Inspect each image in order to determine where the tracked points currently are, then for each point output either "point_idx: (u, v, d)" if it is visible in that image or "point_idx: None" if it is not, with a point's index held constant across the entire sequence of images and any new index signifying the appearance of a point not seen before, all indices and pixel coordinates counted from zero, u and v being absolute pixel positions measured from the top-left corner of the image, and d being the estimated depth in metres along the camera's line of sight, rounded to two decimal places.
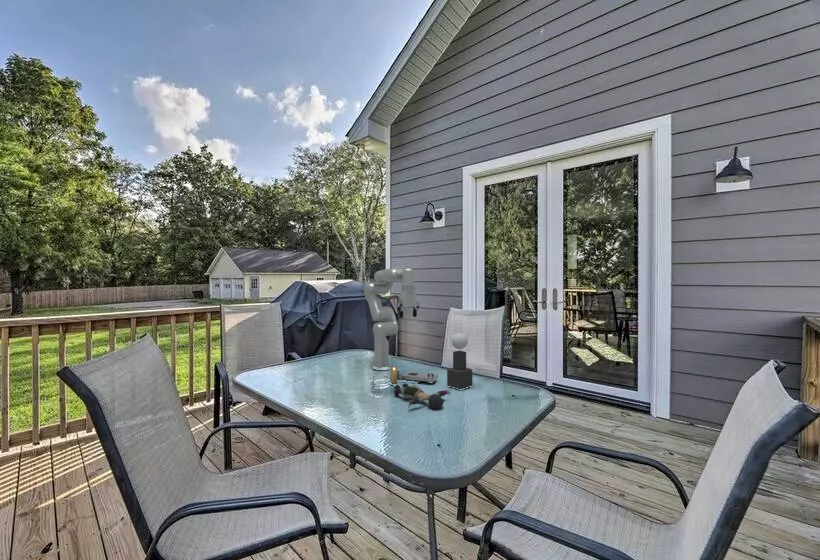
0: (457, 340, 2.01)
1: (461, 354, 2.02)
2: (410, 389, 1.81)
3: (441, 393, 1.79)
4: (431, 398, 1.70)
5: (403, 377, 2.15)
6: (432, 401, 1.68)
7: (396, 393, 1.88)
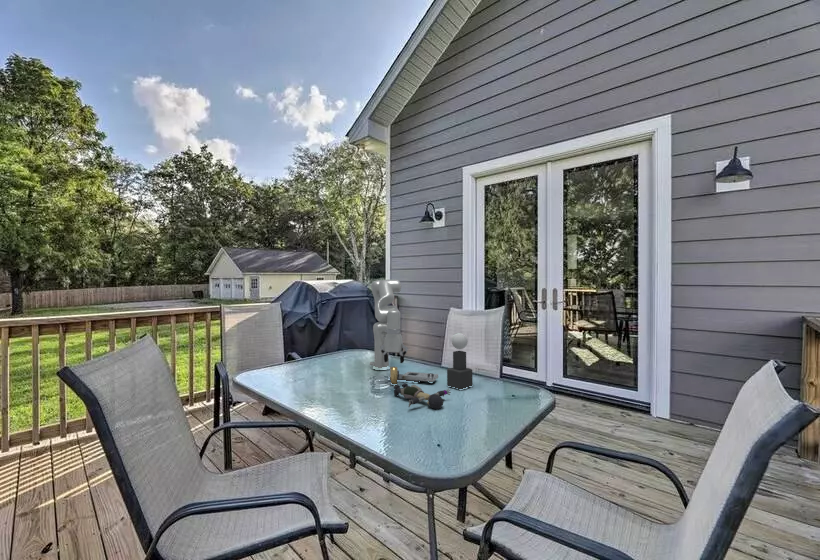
0: (457, 340, 2.01)
1: (461, 354, 2.02)
2: (410, 389, 1.81)
3: (441, 393, 1.79)
4: (431, 398, 1.70)
5: (403, 377, 2.15)
6: (432, 401, 1.69)
7: (396, 393, 1.88)
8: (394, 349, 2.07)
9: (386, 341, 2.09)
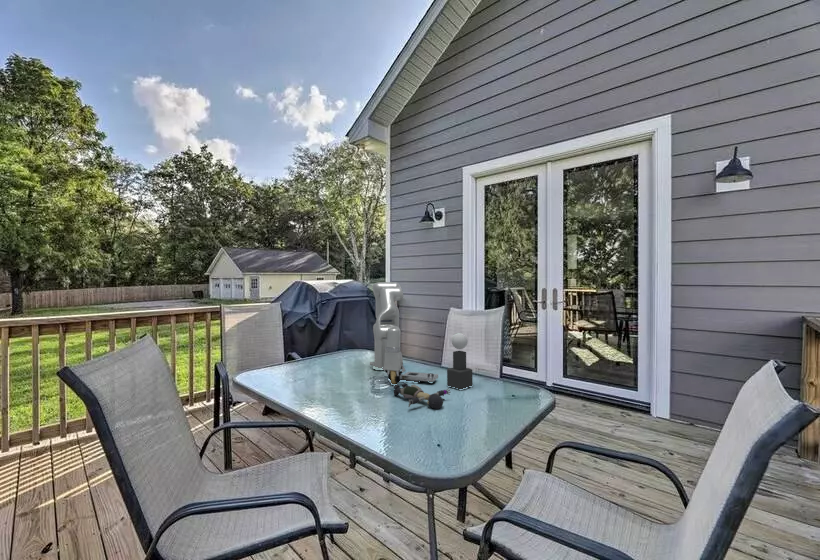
0: (457, 340, 2.01)
1: (461, 354, 2.02)
2: (410, 388, 1.81)
3: (441, 393, 1.80)
4: (431, 398, 1.70)
5: (403, 377, 2.15)
6: (432, 401, 1.69)
7: (396, 393, 1.88)
8: (394, 367, 2.07)
9: (386, 359, 2.09)
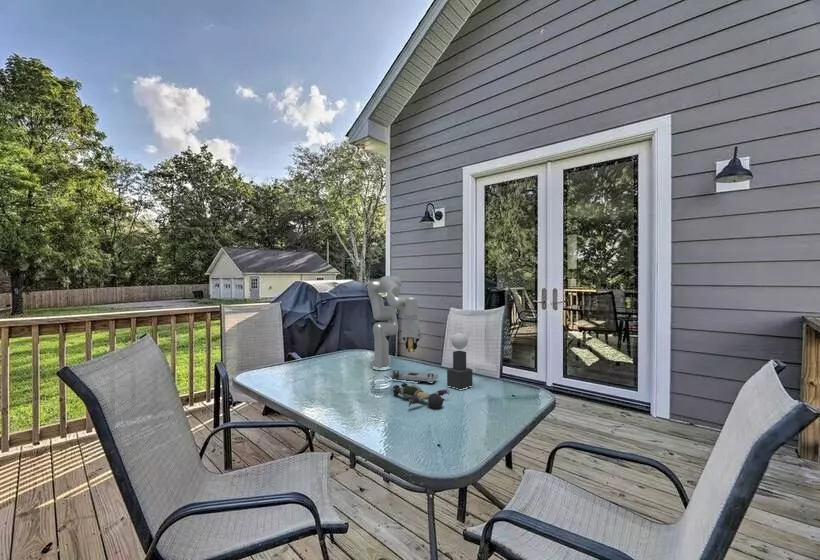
0: (457, 340, 2.01)
1: (461, 354, 2.02)
2: (410, 388, 1.81)
3: (440, 392, 1.80)
4: (431, 397, 1.70)
5: (403, 377, 2.15)
6: (432, 400, 1.69)
7: (395, 393, 1.89)
8: (411, 334, 2.15)
9: (404, 327, 2.17)
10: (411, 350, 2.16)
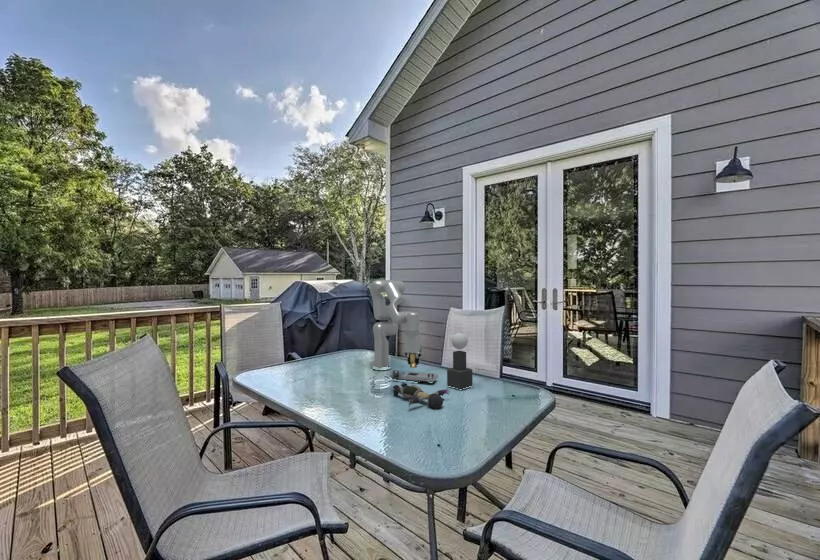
0: (457, 340, 2.01)
1: (461, 354, 2.02)
2: (410, 388, 1.82)
3: (440, 392, 1.80)
4: (431, 397, 1.71)
5: (403, 377, 2.15)
6: (432, 400, 1.69)
7: (395, 393, 1.89)
8: (414, 350, 2.15)
9: (406, 342, 2.17)
10: (413, 365, 2.16)
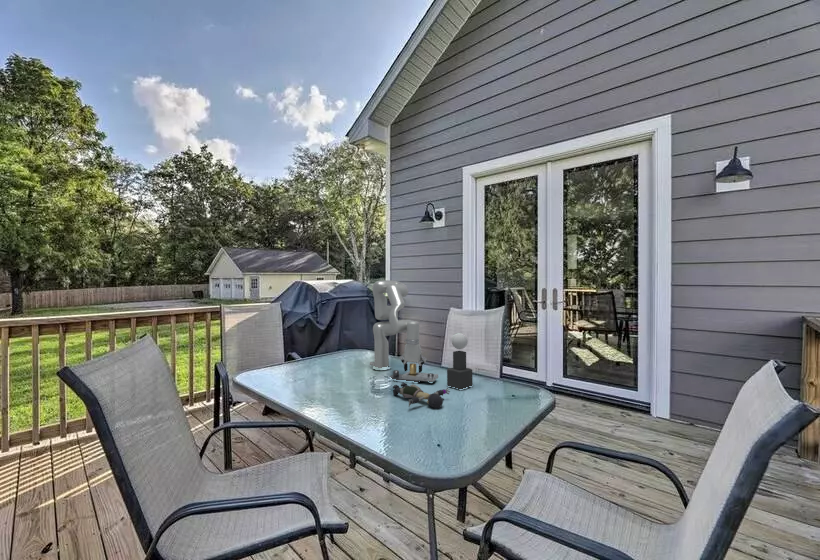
0: (457, 340, 2.01)
1: (461, 354, 2.02)
2: (409, 388, 1.82)
3: (440, 392, 1.80)
4: (431, 397, 1.71)
5: (403, 377, 2.15)
6: (432, 400, 1.70)
7: (395, 393, 1.89)
8: (413, 359, 2.15)
9: (405, 351, 2.17)
10: None
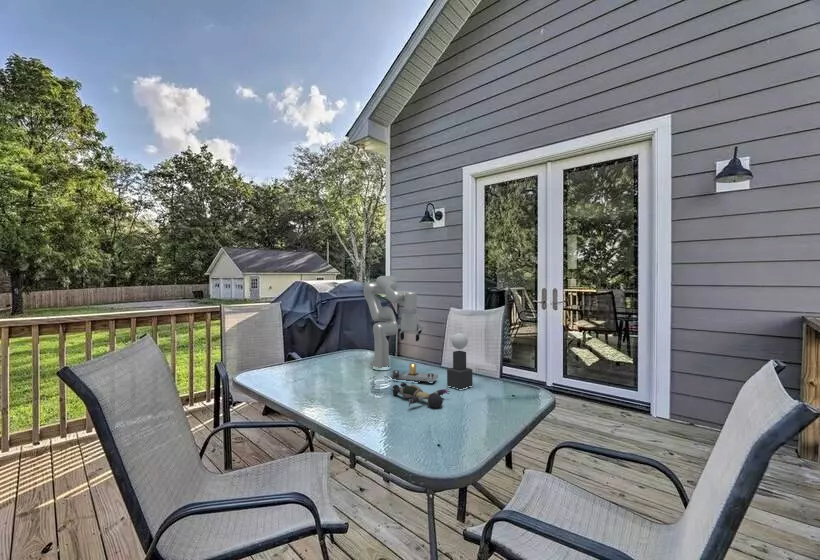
0: (457, 340, 2.01)
1: (461, 354, 2.02)
2: (409, 388, 1.82)
3: (440, 392, 1.81)
4: (431, 397, 1.71)
5: (403, 377, 2.15)
6: (432, 400, 1.70)
7: (395, 392, 1.89)
8: (410, 328, 2.20)
9: (403, 320, 2.22)
10: None
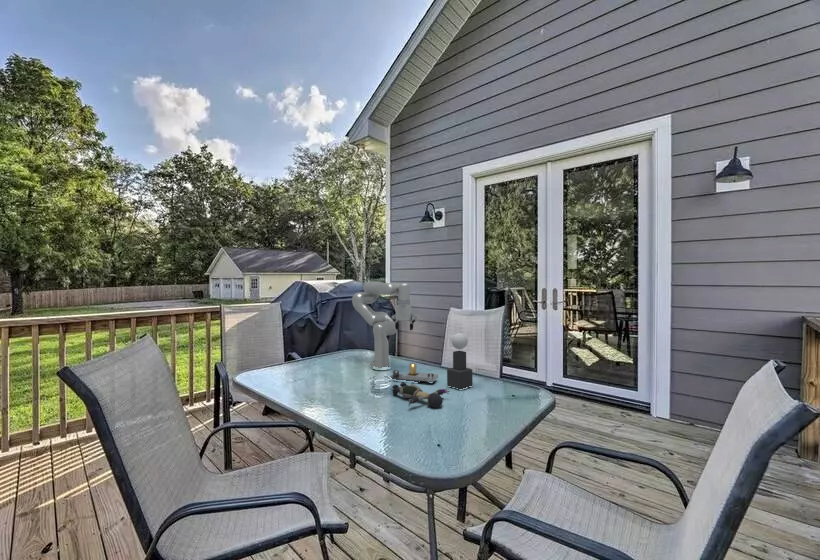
0: (457, 340, 2.01)
1: (461, 354, 2.02)
2: (409, 388, 1.82)
3: (440, 392, 1.81)
4: (430, 397, 1.71)
5: (403, 377, 2.15)
6: (432, 400, 1.70)
7: (395, 392, 1.89)
8: (404, 318, 2.32)
9: (397, 311, 2.34)
10: None
